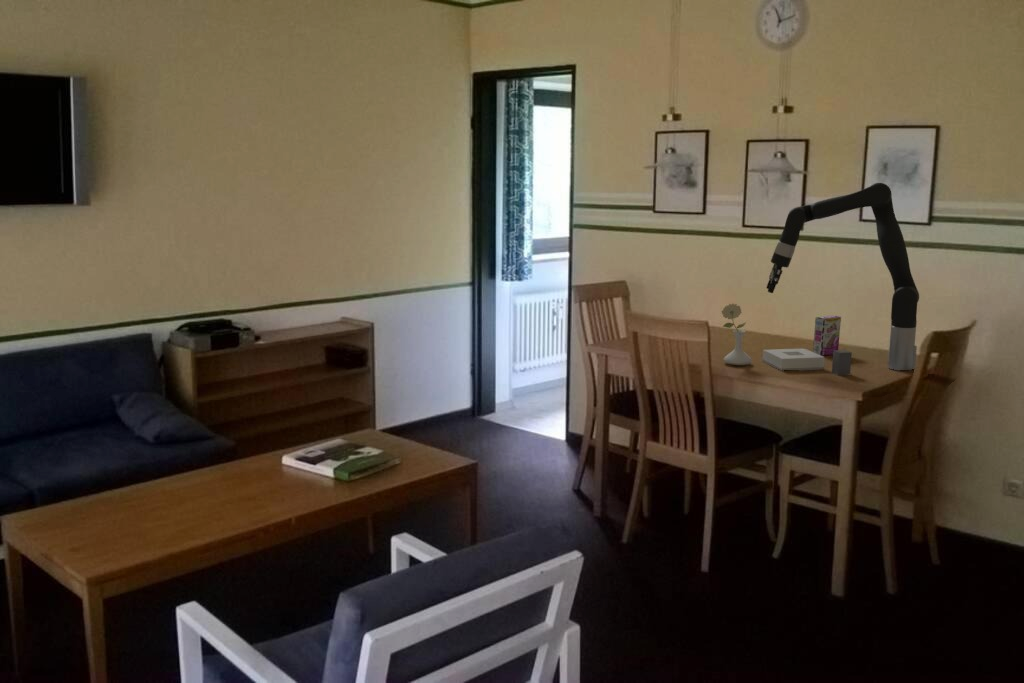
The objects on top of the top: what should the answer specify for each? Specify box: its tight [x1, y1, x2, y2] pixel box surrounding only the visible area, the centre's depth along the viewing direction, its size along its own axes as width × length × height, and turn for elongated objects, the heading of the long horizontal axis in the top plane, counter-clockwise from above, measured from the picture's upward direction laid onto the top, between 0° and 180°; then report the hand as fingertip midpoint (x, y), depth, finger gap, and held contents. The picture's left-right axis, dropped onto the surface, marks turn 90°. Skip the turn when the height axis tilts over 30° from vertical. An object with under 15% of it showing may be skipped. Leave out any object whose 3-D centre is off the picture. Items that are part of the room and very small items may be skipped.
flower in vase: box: [721, 303, 753, 366], centre depth 381 cm, size 13×11×25 cm
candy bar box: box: [812, 314, 842, 357], centre depth 401 cm, size 11×5×16 cm, turn 123°
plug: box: [831, 349, 853, 376], centre depth 365 cm, size 5×5×9 cm
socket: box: [762, 348, 826, 372], centre depth 380 cm, size 18×18×5 cm
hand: (769, 290), depth 390 cm, fingers open, 8 cm apart
